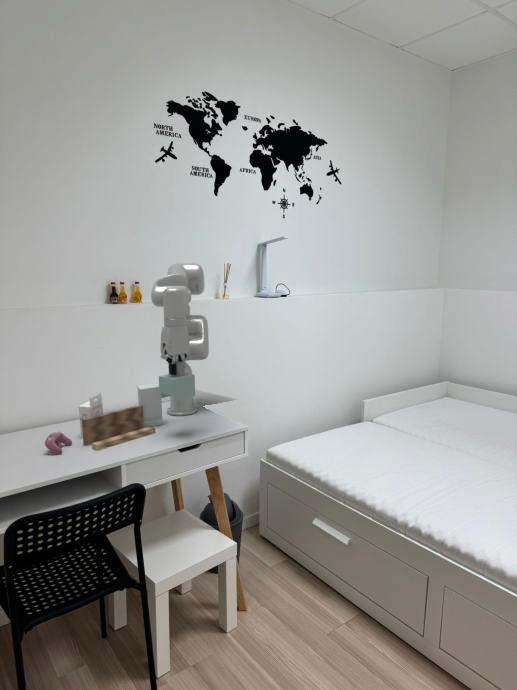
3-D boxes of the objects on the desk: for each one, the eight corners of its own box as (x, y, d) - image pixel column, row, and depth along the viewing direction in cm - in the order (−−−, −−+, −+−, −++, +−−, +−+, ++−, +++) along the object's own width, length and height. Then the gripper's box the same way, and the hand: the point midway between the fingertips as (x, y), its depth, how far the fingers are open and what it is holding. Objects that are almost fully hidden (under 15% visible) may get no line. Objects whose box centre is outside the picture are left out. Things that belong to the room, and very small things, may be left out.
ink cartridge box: (92, 429, 189) (90, 392, 186) (104, 430, 188) (102, 392, 185) (80, 437, 180) (77, 397, 178) (92, 438, 179) (90, 398, 177)
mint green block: (181, 392, 187) (179, 358, 185) (195, 395, 182) (194, 361, 180) (159, 397, 180) (158, 362, 178) (173, 401, 175) (172, 365, 172)
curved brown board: (141, 427, 191) (140, 404, 189) (155, 432, 185) (154, 409, 184) (83, 444, 173) (81, 419, 172) (96, 450, 167) (95, 424, 166)
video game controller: (62, 448, 173) (52, 431, 172) (74, 443, 173) (64, 425, 172) (50, 459, 164) (39, 441, 163) (62, 453, 163) (51, 435, 162)
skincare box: (159, 420, 200) (158, 382, 197) (163, 425, 194) (162, 386, 191) (138, 423, 196) (136, 384, 194) (141, 428, 190) (139, 388, 188)
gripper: (185, 319, 185) (187, 368, 188) (149, 324, 173) (151, 376, 176) (199, 321, 180) (200, 371, 183) (163, 326, 168) (165, 379, 171)
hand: (176, 373), depth 179 cm, fingers closed on mint green block, 2 cm apart
